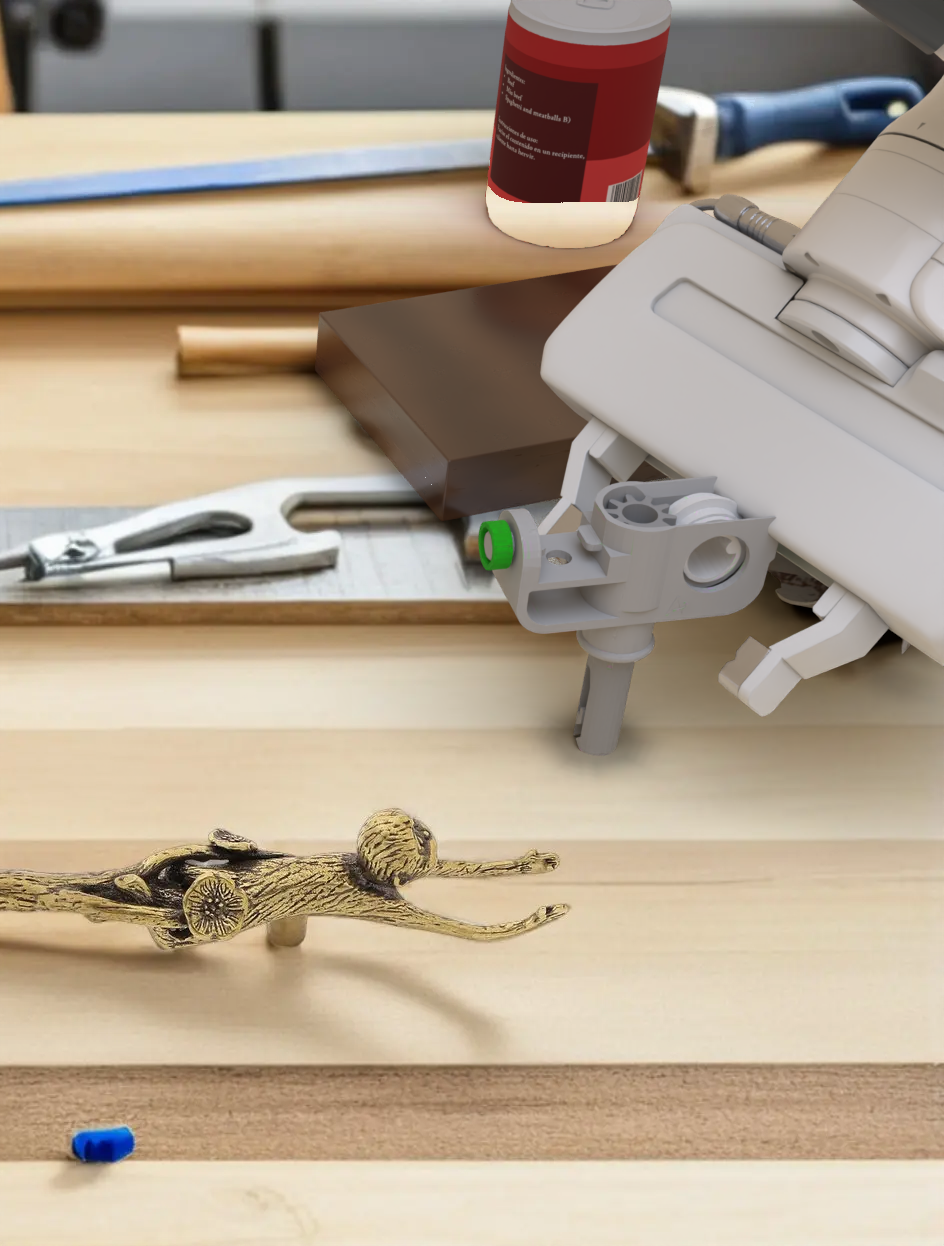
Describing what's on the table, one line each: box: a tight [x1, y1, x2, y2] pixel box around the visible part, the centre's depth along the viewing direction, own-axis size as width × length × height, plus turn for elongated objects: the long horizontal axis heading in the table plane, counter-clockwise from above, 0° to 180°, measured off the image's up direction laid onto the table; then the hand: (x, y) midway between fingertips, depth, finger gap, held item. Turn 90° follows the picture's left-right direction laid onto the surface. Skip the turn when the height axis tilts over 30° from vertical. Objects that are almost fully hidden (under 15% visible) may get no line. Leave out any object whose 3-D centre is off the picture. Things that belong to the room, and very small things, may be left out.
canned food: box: [484, 0, 673, 203], centre depth 102 cm, size 8×8×11 cm
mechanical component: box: [477, 476, 779, 757], centre depth 71 cm, size 3×10×10 cm, turn 101°
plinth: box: [314, 263, 669, 522], centre depth 90 cm, size 16×13×3 cm
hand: (642, 625), depth 71 cm, fingers open, 8 cm apart
